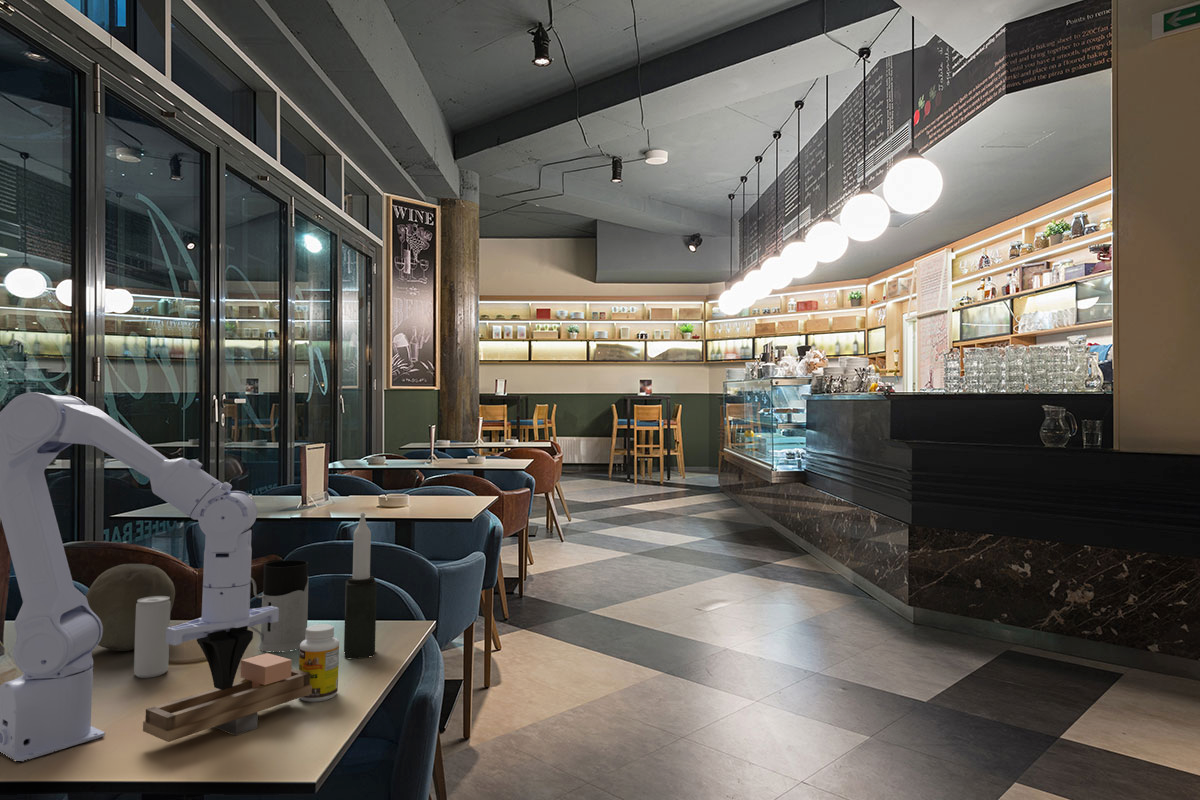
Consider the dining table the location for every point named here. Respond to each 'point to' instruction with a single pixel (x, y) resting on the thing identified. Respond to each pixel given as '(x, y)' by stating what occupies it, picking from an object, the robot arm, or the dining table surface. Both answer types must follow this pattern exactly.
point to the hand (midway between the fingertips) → (223, 687)
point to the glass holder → (284, 605)
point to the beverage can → (151, 636)
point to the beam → (223, 707)
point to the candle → (360, 598)
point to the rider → (265, 669)
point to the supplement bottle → (320, 661)
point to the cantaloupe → (125, 600)
